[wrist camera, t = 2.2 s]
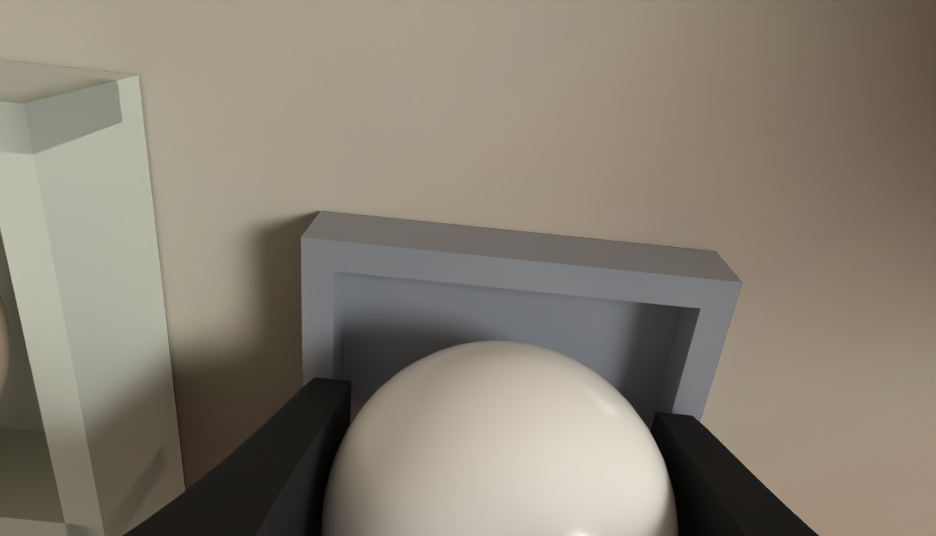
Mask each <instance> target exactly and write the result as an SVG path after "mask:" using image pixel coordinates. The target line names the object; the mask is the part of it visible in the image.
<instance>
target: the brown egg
mask: <svg viewBox="0 0 936 536" xmlns="http://www.w3.org/2000/svg"><path fill="white" fill-rule="evenodd" d="M9 363H10V330H9V324H8V318H7V315H6V312H5V308H4V305H3V302H2V299H1V296H0V398H1V395H2V393H3V390H4V386H5V382H6V379H7V375H8V369H9Z"/></svg>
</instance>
